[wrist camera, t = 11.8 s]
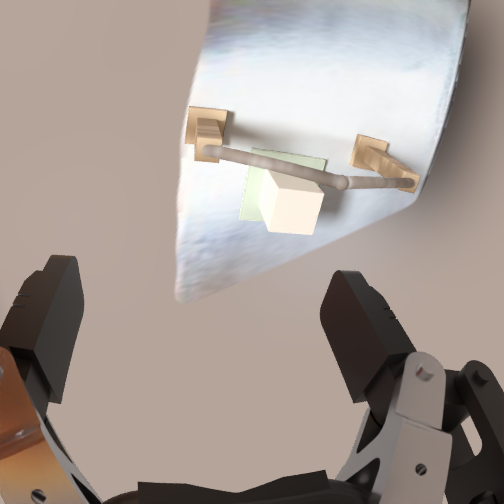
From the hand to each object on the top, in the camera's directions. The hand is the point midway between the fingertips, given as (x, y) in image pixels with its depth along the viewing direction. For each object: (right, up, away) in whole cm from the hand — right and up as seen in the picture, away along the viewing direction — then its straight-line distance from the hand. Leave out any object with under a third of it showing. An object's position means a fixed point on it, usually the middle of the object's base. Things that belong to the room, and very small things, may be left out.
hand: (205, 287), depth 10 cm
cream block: (+5, +8, +29) cm, 31 cm away
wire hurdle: (+6, +14, +26) cm, 30 cm away
